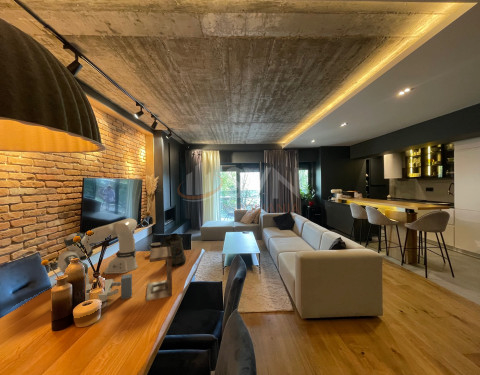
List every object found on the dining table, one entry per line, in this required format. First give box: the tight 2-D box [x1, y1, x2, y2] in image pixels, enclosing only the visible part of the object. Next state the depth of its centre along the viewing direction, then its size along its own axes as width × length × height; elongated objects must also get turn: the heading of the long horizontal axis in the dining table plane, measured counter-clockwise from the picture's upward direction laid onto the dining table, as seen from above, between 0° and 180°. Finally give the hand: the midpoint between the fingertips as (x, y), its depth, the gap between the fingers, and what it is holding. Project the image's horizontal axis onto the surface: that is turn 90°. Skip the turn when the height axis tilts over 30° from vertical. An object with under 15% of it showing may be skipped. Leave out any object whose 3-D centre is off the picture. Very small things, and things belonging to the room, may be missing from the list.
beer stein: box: [161, 232, 187, 268], centre depth 169 cm, size 16×19×25 cm
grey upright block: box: [120, 273, 133, 300], centre depth 120 cm, size 5×5×12 cm
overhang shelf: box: [145, 246, 173, 302], centre depth 127 cm, size 14×20×24 cm
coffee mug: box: [147, 242, 162, 251], centre depth 193 cm, size 12×9×10 cm
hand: (119, 287), depth 118 cm, fingers open, 8 cm apart
